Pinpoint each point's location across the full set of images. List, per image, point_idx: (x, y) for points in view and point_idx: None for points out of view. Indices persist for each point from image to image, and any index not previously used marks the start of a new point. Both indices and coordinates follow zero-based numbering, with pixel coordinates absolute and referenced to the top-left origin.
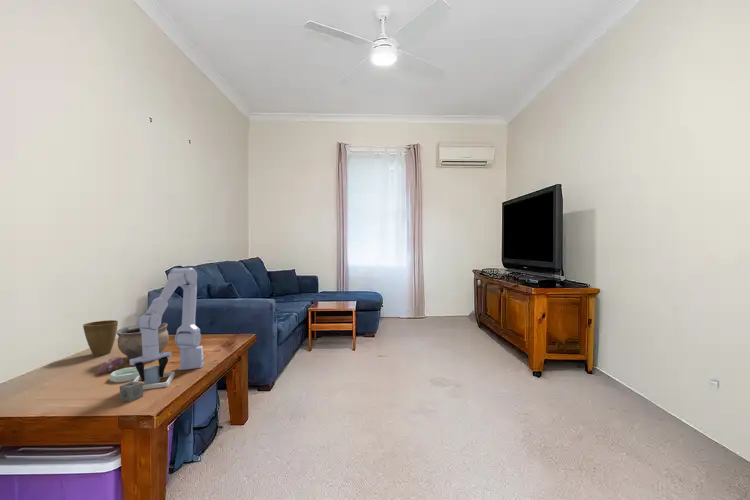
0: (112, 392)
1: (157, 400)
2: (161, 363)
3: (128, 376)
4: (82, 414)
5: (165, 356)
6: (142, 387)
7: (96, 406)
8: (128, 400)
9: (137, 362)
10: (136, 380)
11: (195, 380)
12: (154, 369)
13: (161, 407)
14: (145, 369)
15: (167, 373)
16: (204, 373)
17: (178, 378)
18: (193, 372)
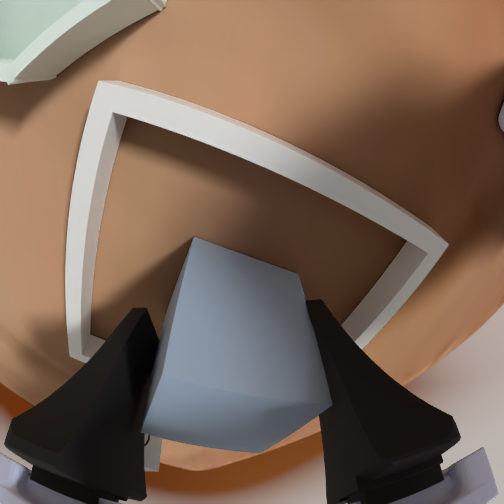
0: (7, 289)
1: (211, 449)
2: (328, 468)
3: (17, 78)
4: (25, 398)
5: (413, 498)
6: (160, 452)
7: (29, 382)
8: None
9: (69, 500)
10: (89, 227)
11: (408, 379)
12: (241, 448)
13: (214, 465)
14: (154, 426)
15: (400, 236)
16: (491, 312)
17: (399, 314)
18: (498, 258)
